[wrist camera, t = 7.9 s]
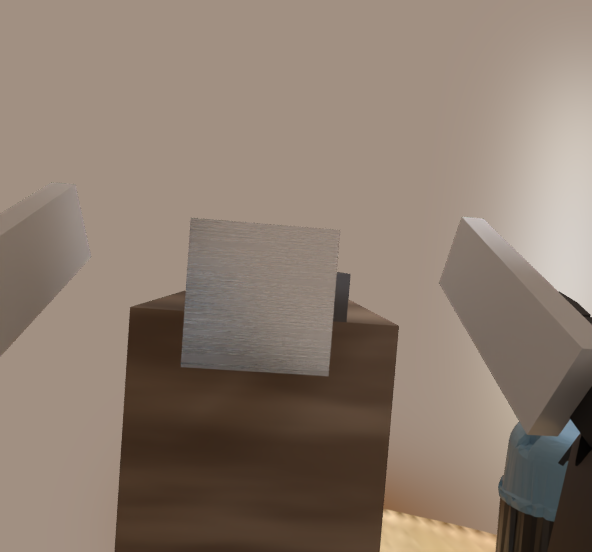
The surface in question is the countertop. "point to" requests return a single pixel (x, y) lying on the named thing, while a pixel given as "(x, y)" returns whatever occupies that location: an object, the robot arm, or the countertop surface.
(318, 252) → the steel bar
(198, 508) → the walnut stand
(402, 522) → the countertop surface
